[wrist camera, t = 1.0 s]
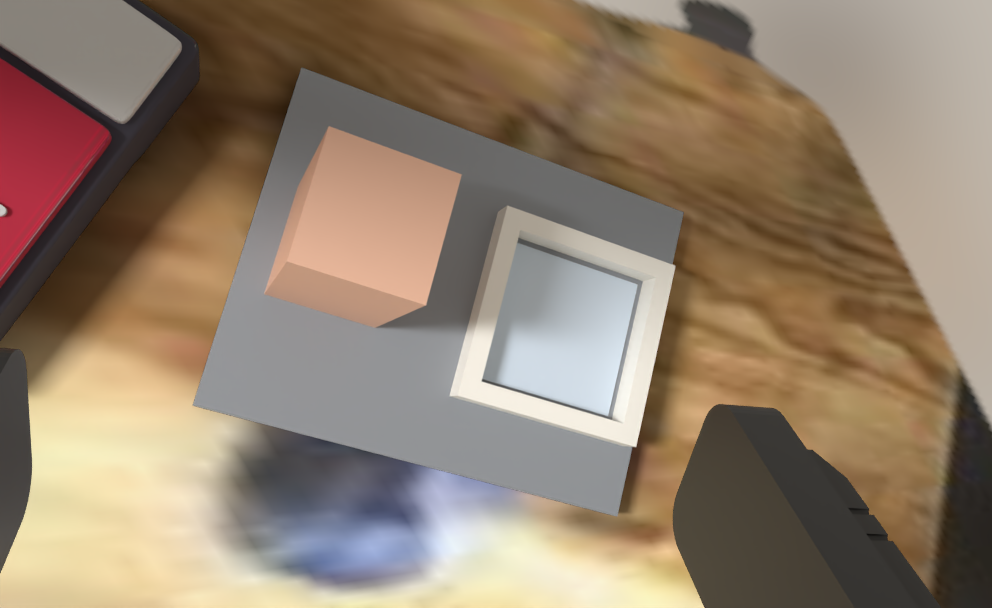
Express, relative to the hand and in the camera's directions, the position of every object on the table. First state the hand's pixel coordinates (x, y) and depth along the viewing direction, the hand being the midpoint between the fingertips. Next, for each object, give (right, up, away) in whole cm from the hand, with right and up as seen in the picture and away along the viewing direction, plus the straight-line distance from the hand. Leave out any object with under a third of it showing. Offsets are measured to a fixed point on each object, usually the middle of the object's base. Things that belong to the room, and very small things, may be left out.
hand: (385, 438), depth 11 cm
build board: (0, +2, +28) cm, 28 cm away
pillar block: (-5, +3, +25) cm, 26 cm away
